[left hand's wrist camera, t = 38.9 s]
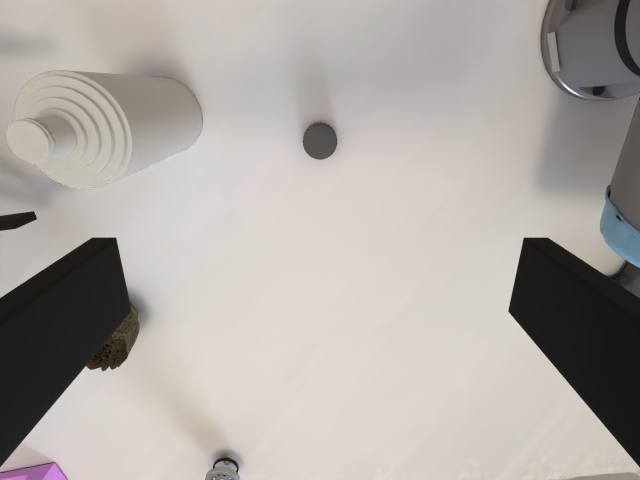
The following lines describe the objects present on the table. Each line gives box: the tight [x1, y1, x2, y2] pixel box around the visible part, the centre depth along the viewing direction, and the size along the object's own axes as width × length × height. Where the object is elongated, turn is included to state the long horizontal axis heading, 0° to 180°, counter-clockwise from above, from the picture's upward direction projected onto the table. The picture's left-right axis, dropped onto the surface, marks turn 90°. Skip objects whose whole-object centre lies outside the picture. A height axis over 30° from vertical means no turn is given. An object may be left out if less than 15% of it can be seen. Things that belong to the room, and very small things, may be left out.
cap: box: [303, 123, 337, 159], centre depth 45 cm, size 4×4×2 cm
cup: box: [86, 304, 139, 371], centre depth 51 cm, size 8×7×8 cm
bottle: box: [5, 70, 203, 189], centre depth 34 cm, size 8×8×23 cm
